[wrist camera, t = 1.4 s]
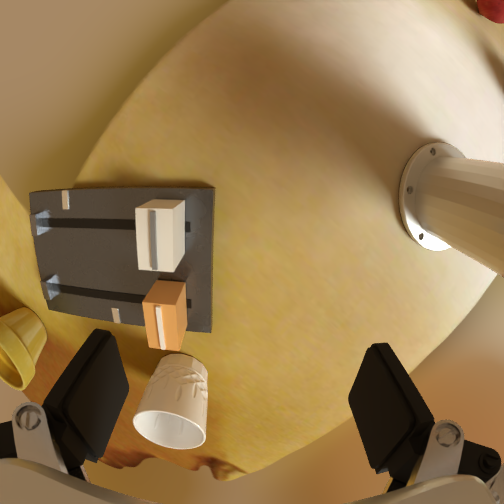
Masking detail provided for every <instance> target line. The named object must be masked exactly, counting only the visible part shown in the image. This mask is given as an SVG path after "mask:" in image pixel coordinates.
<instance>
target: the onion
mask: <svg viewBox="0 0 504 504" xmlns="http://www.w3.org/2000/svg"><path fill="white" fill-rule="evenodd" d="M477 5H478V11H479V13H480V14H481V15H482V16H484V17H486V18H487V19H489V20H491V21H493V22H495V23H504V0H477Z"/></svg>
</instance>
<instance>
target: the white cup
mask: <svg viewBox="0 0 504 504" xmlns="http://www.w3.org/2000/svg"><path fill="white" fill-rule="evenodd" d="M207 377H208V372H207V370H206V369H205V367H204V365H203V364H202V363H201V362H199V361H198V360H197V359H195V358H194V357H191V356H188V355H185V354H169V355H167V356H165V357H162V358H161V360H160V361H159V363H158V365H157V367H156V369H155V372H154V373H153V374H152V376H151V378H150V381H149V382H148V385H147V387H146V389H145V391H144V394H143V396H142V398H141V401H140V403H139V406H138V408H137V410H136V413H135V415H134V418H133V424H134V427H135V428H136V430H137V431H138V432H139V433H140V434H141V435H142V436H144V437H145V438H147V439H148V440H150V441H152V442H154V443H156V444H159V445H161V446H165V447H169V448H174V449H191V448H195V447H198V446H200V445H202V444H203V443H204V441H205V439H206V419H207V401H208V397H207V394H208V390H207Z"/></svg>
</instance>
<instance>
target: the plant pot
mask: <svg viewBox="0 0 504 504" xmlns="http://www.w3.org/2000/svg"><path fill="white" fill-rule="evenodd" d="M46 340H47V333H46V330H45V327H44V325H43V323H42V322H41V320H40V319H39V317H38V316H37V315H36V314H35V313H34V312H33V311H32V310H30V309H29V308H26V307H22V308H19V309H17V310H15V311H13V312H11V313H8V314H6V315H4V316H2V317H0V378H1V379H2V380H3V381H4V382H5V383H6V384H8V385H9V386H11V387H12V388H14V389H16V390H24V389H25V388H26V386H27V385H28V384H29V382H30V381H31V379H32V378H33V376H34V374H35V364H36V362H37V360H38V357H39V355H40V353H41V351H42V349H43V347H44V345H45V343H46Z"/></svg>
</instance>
